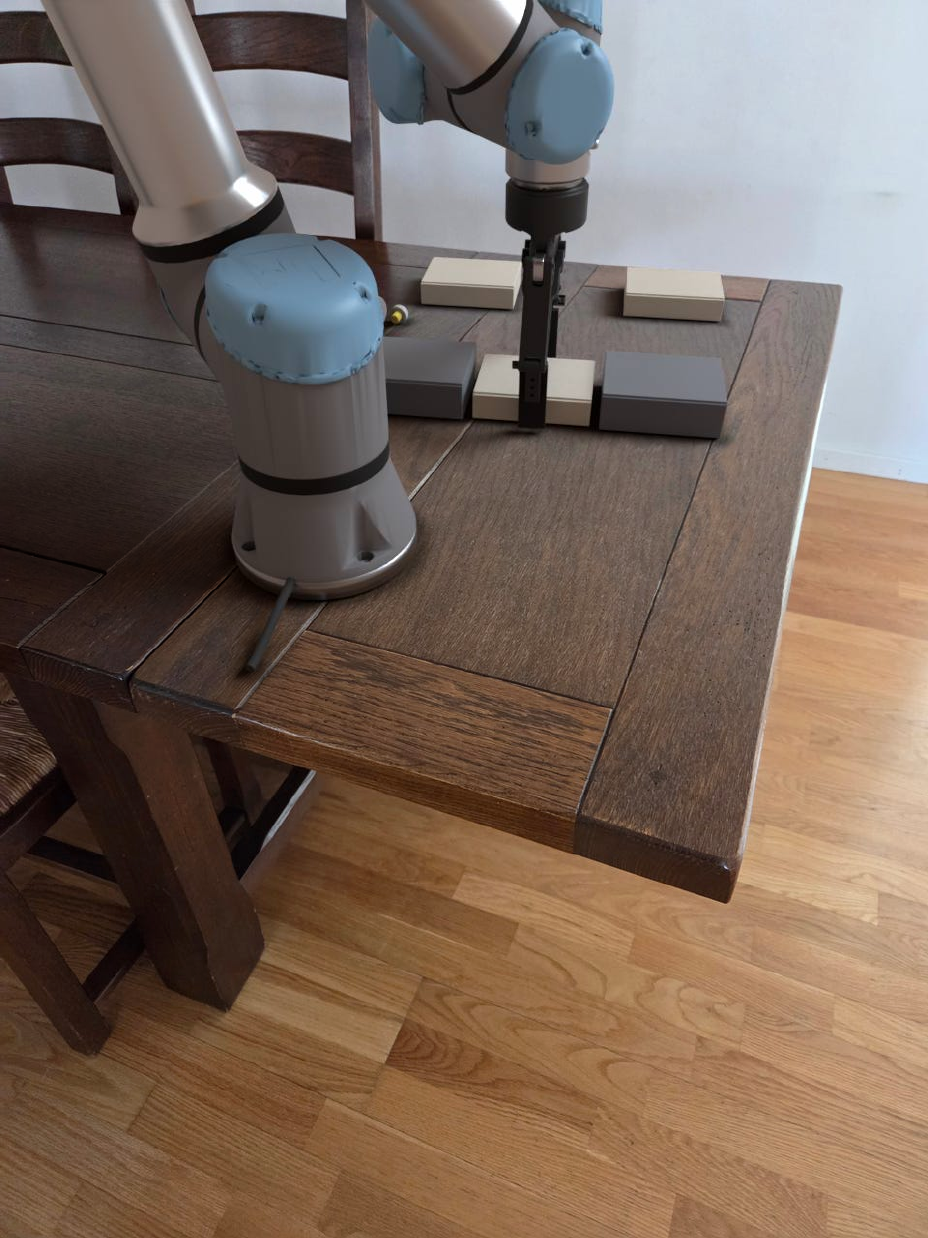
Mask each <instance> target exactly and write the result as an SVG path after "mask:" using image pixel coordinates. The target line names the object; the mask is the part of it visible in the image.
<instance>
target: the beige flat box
mask: <svg viewBox="0 0 928 1238" xmlns="http://www.w3.org/2000/svg"><path fill="white" fill-rule="evenodd" d="M512 361H519V355H513V354H497V353H484V356H483V359H482V361H481V365H480V368H479V371H478V375H477V377H476V380H475V383H474V386H473V389H472V410H471V411H472V415H471V416H472V418H474V419H485V420H497V421H498V420H499V421H500V420H501V421H514V422H518V404H519V371H518V369H512ZM547 361H548V384H547V403H546V422H545V424H553V425H567V426H568V425H569V426H578V427H579V426H581V427H589V426H590V421H591V413H592V412H591V411H592V402H593V391H594V381H595V380H594V379H595V369H596V360H589V359H575V358H574V359H573V358H560V357H556V358H547Z"/></svg>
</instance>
